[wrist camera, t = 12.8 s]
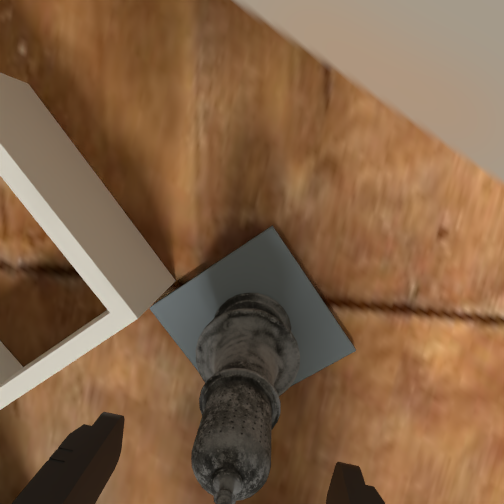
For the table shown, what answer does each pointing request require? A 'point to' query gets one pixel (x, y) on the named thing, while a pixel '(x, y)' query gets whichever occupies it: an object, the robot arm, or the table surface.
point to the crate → (71, 232)
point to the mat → (263, 282)
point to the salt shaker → (241, 394)
